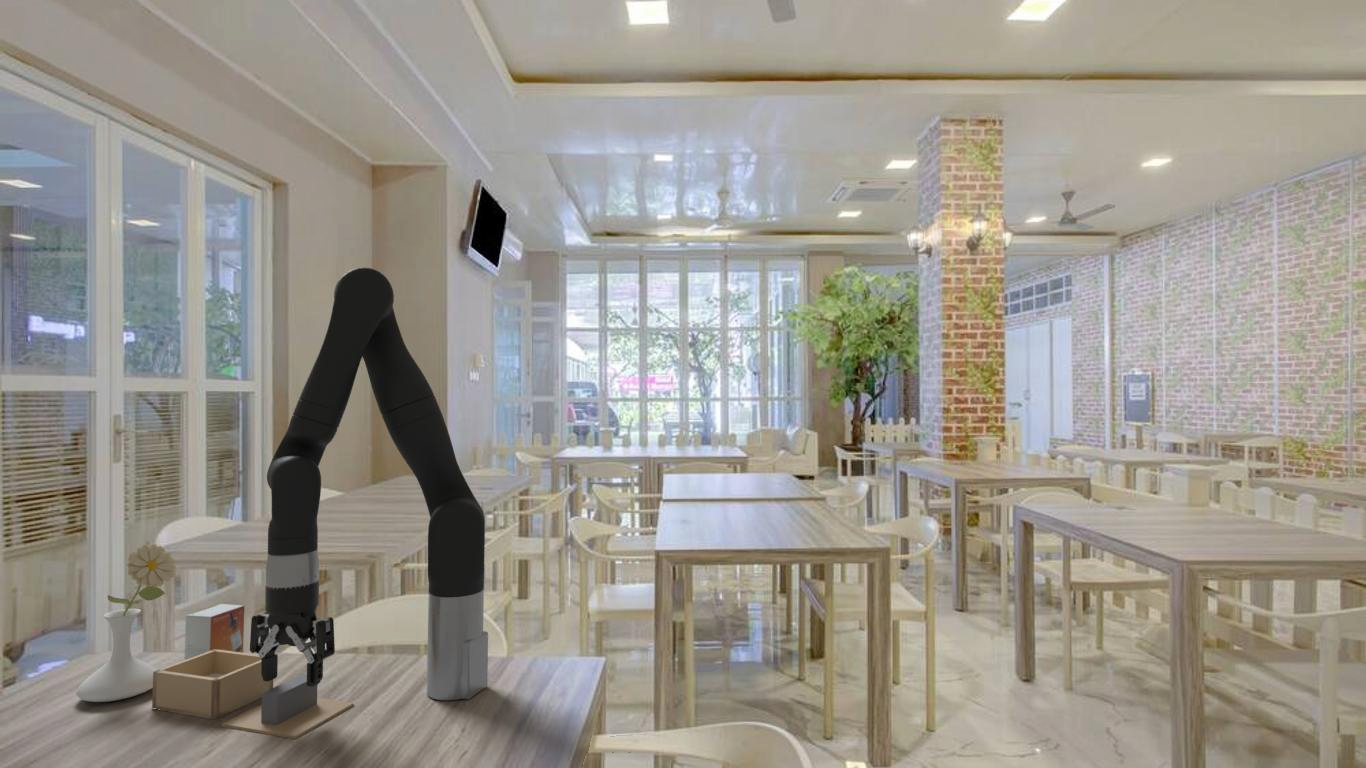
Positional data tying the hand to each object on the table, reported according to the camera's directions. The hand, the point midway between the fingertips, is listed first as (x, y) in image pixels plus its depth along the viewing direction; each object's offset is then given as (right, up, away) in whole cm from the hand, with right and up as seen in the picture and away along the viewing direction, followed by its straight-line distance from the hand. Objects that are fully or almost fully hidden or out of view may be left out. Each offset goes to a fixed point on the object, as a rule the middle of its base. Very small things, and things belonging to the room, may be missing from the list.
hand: (291, 682), depth 112 cm
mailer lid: (0, -6, 0) cm, 6 cm away
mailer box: (-16, -5, +5) cm, 18 cm away
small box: (-26, -6, +21) cm, 34 cm away
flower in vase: (-33, -6, +8) cm, 34 cm away
